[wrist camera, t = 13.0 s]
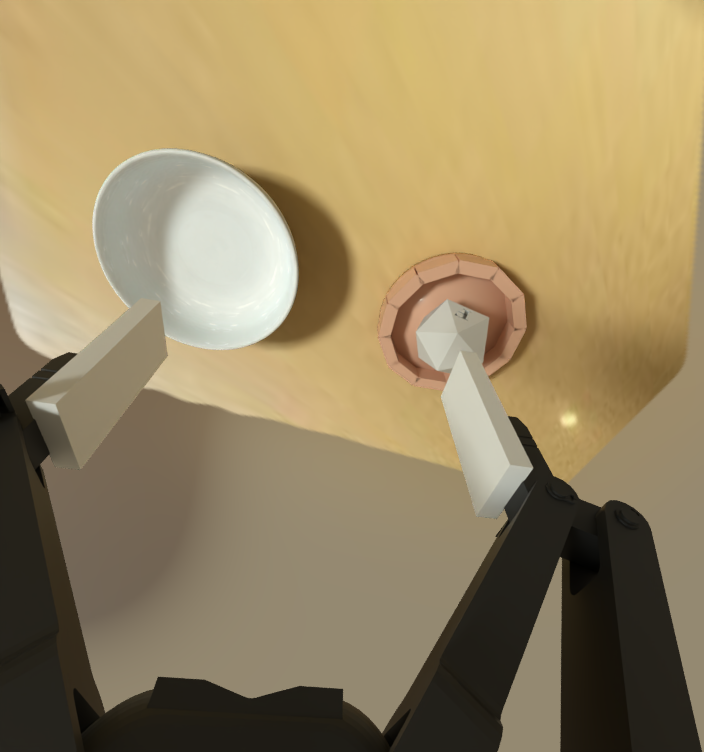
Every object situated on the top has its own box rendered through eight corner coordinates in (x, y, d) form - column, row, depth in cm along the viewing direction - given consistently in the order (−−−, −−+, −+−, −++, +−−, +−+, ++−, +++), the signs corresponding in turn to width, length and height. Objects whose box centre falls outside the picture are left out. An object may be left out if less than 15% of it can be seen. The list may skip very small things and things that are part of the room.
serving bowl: (199, 91, 35) (170, 87, 30) (340, 259, 45) (338, 280, 39) (90, 233, 43) (50, 251, 38) (229, 351, 53) (215, 379, 47)
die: (491, 326, 49) (513, 311, 40) (461, 386, 50) (475, 387, 40) (432, 300, 51) (439, 280, 41) (404, 359, 51) (404, 353, 41)
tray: (398, 239, 43) (401, 248, 40) (540, 268, 45) (553, 278, 42) (366, 364, 54) (366, 378, 51) (482, 383, 55) (489, 398, 53)
